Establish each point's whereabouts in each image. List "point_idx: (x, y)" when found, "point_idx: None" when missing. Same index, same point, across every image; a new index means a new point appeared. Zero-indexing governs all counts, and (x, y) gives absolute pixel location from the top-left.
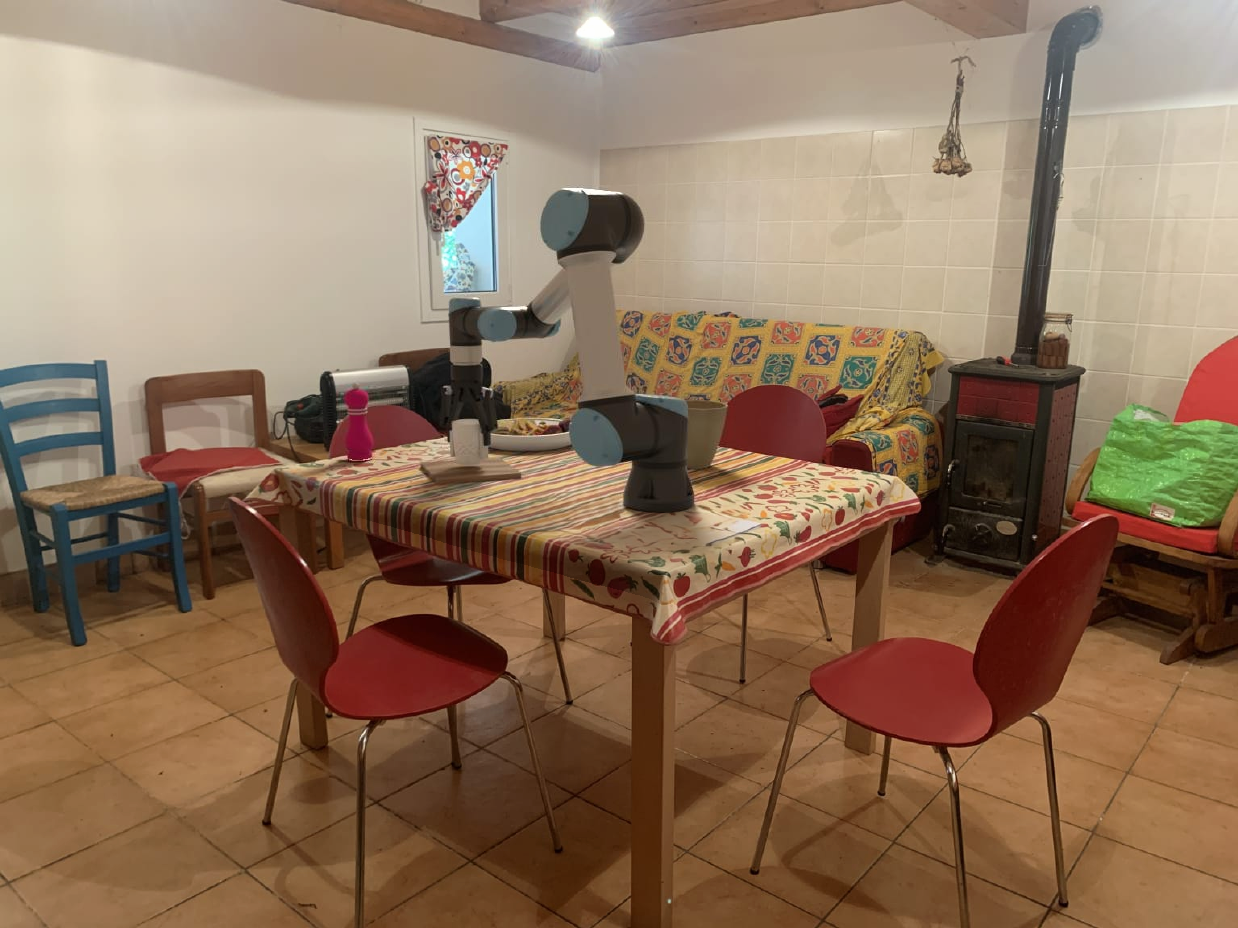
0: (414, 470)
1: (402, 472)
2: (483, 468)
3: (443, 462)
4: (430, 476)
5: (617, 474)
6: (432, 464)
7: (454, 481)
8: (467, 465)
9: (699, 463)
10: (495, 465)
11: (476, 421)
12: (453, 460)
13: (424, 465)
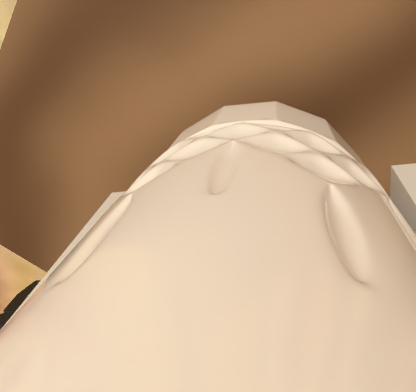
0: (2, 254)
1: (5, 299)
2: (363, 156)
3: (18, 145)
4: None
5: None
6: (24, 215)
7: None
8: None
9: None
10: (400, 18)
11: (153, 380)
12: (5, 57)
13: (18, 250)
